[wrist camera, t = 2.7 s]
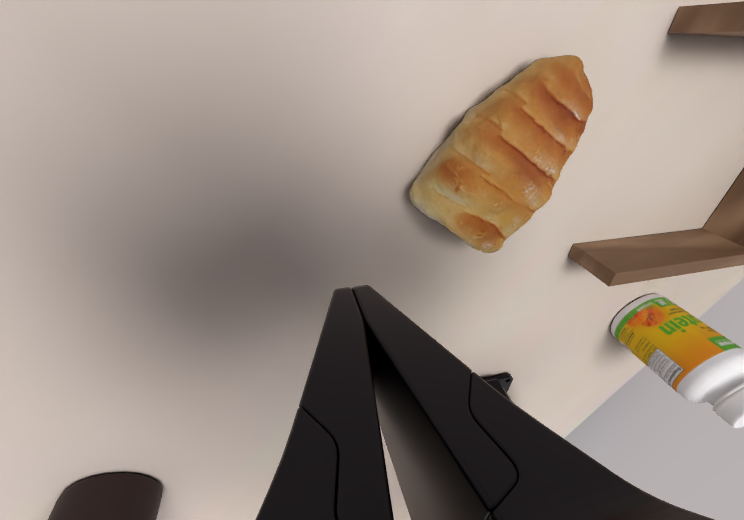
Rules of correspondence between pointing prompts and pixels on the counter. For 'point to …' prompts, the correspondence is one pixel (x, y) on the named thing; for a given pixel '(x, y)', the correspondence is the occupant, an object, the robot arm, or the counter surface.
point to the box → (691, 247)
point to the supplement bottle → (685, 354)
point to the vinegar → (110, 498)
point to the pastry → (506, 154)
